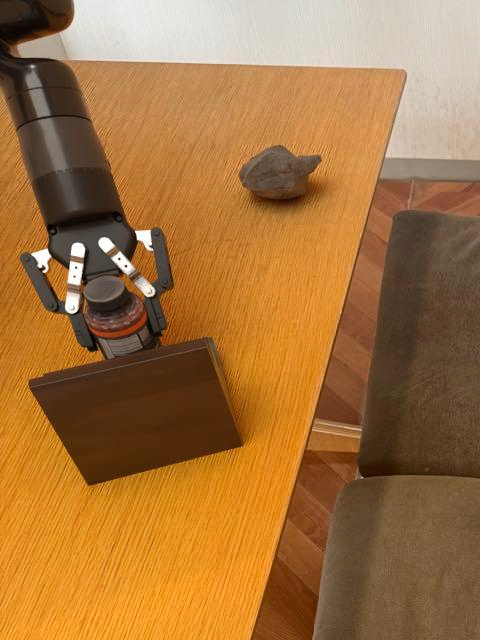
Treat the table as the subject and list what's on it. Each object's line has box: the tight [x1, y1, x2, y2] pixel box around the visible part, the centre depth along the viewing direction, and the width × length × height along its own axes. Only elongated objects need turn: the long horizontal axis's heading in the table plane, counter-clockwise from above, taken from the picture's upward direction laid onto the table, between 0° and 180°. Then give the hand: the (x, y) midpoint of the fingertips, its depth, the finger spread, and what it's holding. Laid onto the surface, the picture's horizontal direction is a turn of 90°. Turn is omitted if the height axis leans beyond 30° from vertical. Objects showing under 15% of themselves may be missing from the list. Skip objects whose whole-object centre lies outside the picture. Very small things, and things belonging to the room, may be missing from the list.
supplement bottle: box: [83, 276, 164, 360], centre depth 93 cm, size 6×6×11 cm
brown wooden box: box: [27, 336, 244, 486], centre depth 93 cm, size 15×16×14 cm
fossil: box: [238, 144, 323, 200], centre depth 120 cm, size 11×9×8 cm
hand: (126, 342), depth 92 cm, fingers closed on supplement bottle, 6 cm apart
